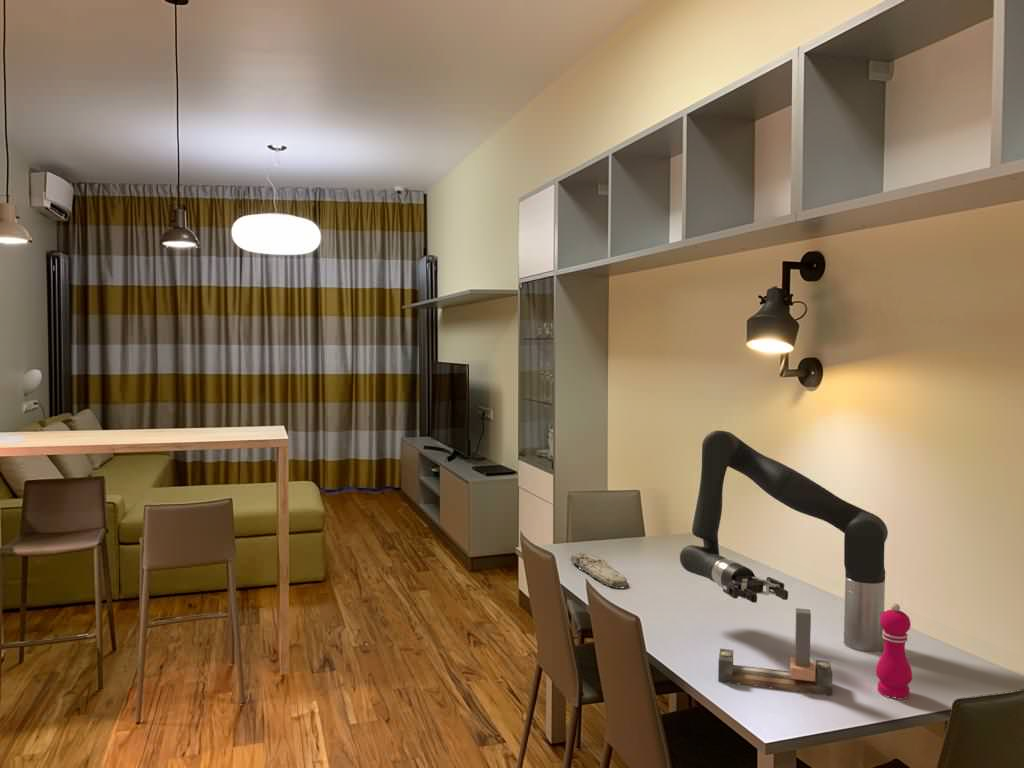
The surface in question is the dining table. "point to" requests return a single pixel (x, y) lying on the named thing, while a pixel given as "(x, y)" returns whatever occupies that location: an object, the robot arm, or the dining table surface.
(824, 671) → the rail
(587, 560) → the long grey stone
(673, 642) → the dining table surface
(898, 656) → the pepper mill
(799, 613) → the carriage
